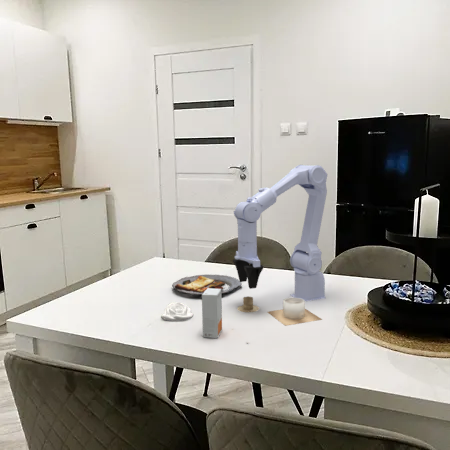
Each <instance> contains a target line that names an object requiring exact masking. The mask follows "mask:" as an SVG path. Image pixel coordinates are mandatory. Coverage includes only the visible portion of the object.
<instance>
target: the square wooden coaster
mask: <svg viewBox="0 0 450 450" xmlns="http://www.w3.org/2000/svg"><path fill="white" fill-rule="evenodd" d="M267 313H268V314H269V315H270V316H272V317H273V318H274V319H276V320H277V321H278V322H279V323H280V324H282V325H283V326H285V327H288V326H292V325H299V324H304V323H305V324H306V323H310V322H315V321H321V320H323V318H321V317H319V316H318V315H316V314H315V313H313V312H311V311H310V310H308V309H307V308H305V317H304V318H302V319H287V318H285V317H284V316H283V308H282V309H276V310H269V311H267Z"/></svg>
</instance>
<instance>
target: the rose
mask: <svg viewBox="0 0 450 450" xmlns="http://www.w3.org/2000/svg"><path fill="white" fill-rule="evenodd" d="M193 317H194V313H193V312H192V308H190V307H189V306H188V305H186V304H185V303H181V302H176V301H175V302H171V303H169V304H168V305H166V307H165V308H164V310H163V313H161V316H160V318H162V319H163V320H165V321H167V322H168V321H169V322H177V321H178V322H180V321H188V320H190V319H192V318H193Z"/></svg>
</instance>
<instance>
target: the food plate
mask: <svg viewBox="0 0 450 450" xmlns="http://www.w3.org/2000/svg"><path fill="white" fill-rule="evenodd" d="M242 284H243V282H240V281H239V278H236V277H233V276H229V275H222V274H221V275H220V274H197V275H193V276H186V277H182V278H180V279H177V280H176V281H175V282H173V283H172V285H171V286H172V289H173V290H174V291H176V292H180V293H183V294H188V295H200V296H202V294H203V293H204V291H205V290H206V289H207V288H214V289H221V294H227V293H231V292H232V291H233V290H235V289H237V288H238V287H239V286H242Z"/></svg>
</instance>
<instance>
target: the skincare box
mask: <svg viewBox="0 0 450 450" xmlns="http://www.w3.org/2000/svg"><path fill="white" fill-rule="evenodd" d="M222 300H223V299H222V293H221V289H214V288H207V289H206V290H205V291H204V293H203V294H202V295H201V308H202V309H201V311H202V312H201V313H202V314H201V316H202V318H201V319H202V324H201V325H202V337H203V338H209V339H218V338H219V335H221V333H222V331H223V309H222V308H223V307H222V306H223V305H222V304H223V303H222V302H223V301H222Z"/></svg>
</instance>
